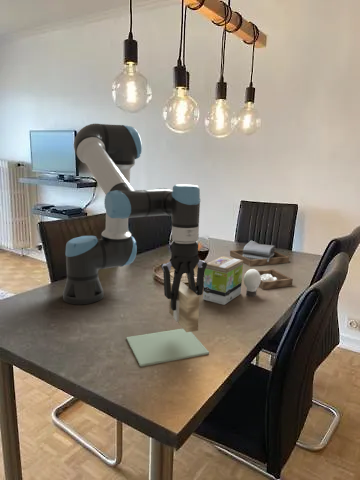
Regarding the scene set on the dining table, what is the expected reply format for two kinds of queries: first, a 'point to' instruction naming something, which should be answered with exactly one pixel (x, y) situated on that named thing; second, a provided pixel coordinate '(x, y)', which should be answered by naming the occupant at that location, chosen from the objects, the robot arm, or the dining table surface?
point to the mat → (165, 346)
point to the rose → (267, 277)
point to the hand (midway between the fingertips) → (183, 318)
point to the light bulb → (252, 282)
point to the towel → (258, 251)
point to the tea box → (222, 280)
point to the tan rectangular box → (187, 308)
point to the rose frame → (280, 282)
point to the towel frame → (278, 259)
